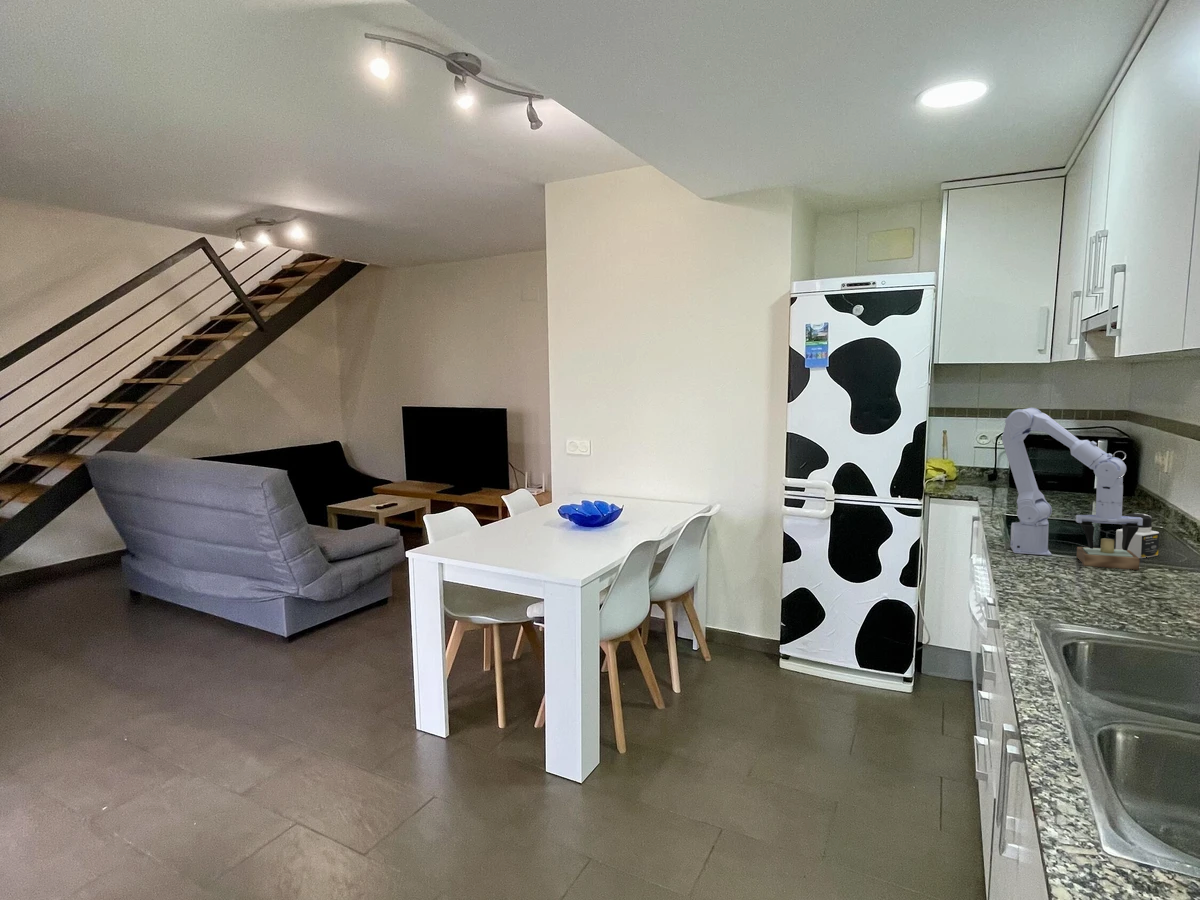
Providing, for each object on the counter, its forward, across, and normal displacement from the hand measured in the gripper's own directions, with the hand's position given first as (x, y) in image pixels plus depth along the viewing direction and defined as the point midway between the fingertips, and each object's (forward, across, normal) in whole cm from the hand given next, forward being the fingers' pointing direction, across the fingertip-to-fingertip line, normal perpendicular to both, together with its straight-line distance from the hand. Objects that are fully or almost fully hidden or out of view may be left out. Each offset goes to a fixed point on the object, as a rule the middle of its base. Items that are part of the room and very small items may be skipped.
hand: (1107, 548), depth 176 cm
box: (+4, 0, 0) cm, 4 cm away
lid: (+2, 0, 0) cm, 2 cm away
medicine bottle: (+5, +10, +13) cm, 17 cm away
